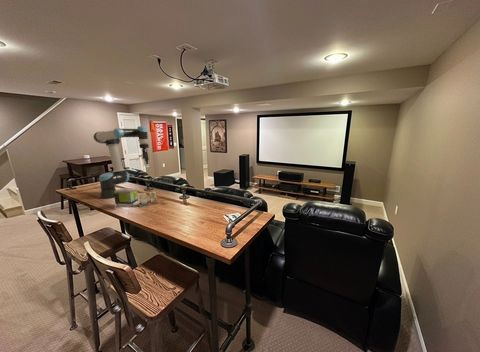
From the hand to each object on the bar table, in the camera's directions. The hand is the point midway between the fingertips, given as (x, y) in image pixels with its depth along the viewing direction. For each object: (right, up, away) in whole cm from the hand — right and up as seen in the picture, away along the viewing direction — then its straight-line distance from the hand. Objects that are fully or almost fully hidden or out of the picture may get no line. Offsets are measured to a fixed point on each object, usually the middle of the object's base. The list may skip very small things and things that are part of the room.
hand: (146, 166), depth 181 cm
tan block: (+5, -34, -14) cm, 37 cm away
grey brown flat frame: (+8, -35, -12) cm, 38 cm away
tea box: (-11, -35, -12) cm, 39 cm away
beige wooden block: (+11, -33, -10) cm, 37 cm away
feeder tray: (+6, -33, -2) cm, 34 cm away
